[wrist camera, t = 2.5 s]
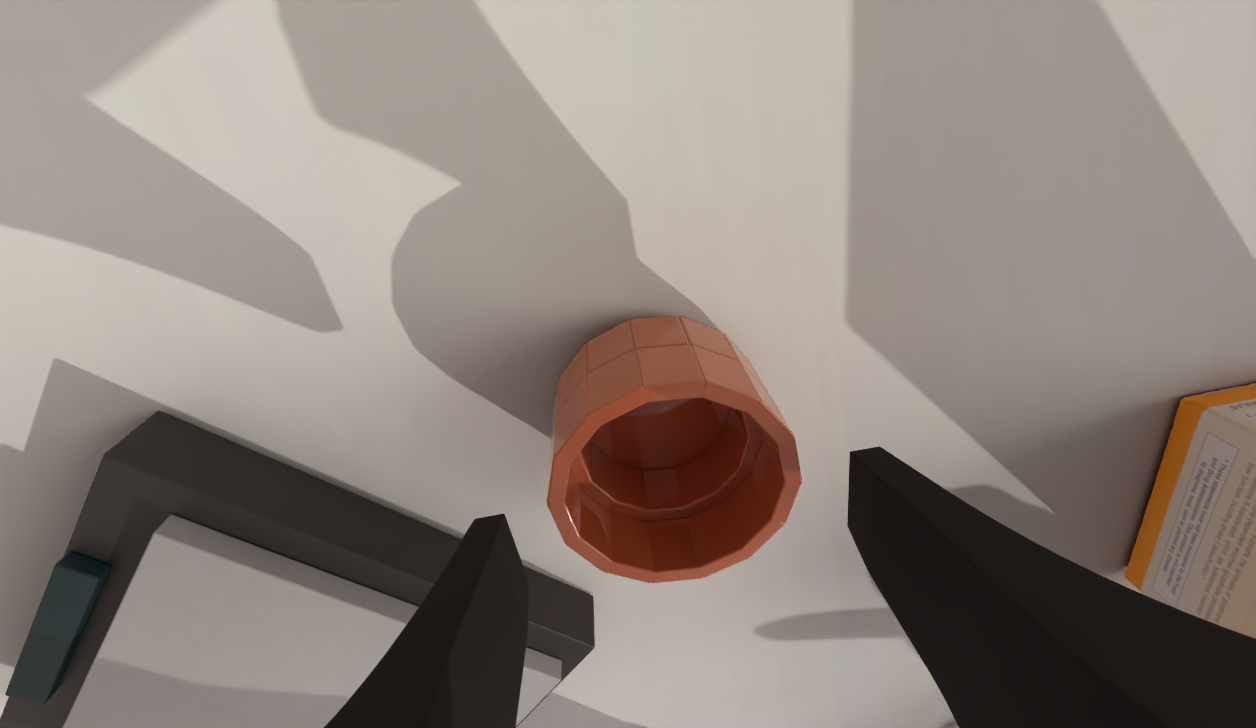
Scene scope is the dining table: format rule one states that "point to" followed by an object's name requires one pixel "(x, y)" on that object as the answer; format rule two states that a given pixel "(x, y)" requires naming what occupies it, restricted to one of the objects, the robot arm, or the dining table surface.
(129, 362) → the dining table surface
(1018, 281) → the dining table surface
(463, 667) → the robot arm
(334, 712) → the scale
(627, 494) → the cup
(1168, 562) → the supplement box
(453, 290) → the dining table surface
